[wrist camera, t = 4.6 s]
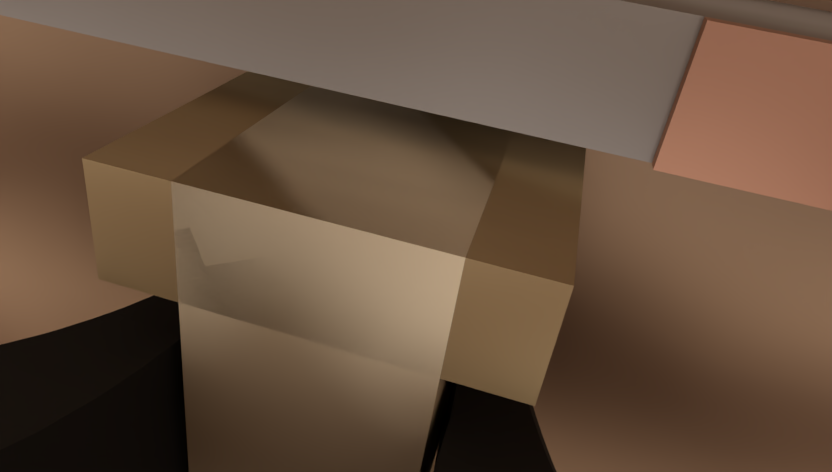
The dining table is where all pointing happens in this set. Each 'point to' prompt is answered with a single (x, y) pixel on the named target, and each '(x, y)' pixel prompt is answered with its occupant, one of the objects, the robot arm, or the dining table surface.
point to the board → (632, 322)
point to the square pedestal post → (338, 267)
